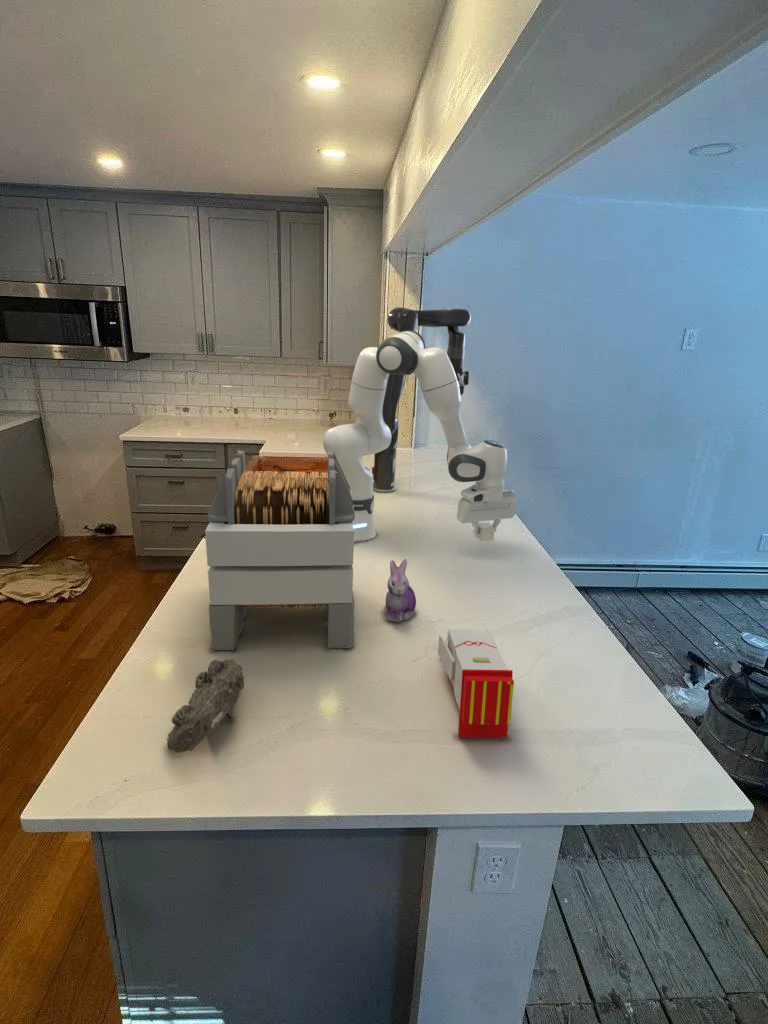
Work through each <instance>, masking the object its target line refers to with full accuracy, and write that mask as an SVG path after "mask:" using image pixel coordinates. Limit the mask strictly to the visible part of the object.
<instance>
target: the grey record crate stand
mask: <svg viewBox="0 0 768 1024" xmlns="http://www.w3.org/2000/svg"><path fill="white" fill-rule="evenodd" d="M246 461H247V459H246V450H240V449H238V450H237V452H236V454H235V456H234V457H233V458H232V461H231V463H230V465H229V467H228V468H227V469H226V472H225V473H224V476H223V478H222V480H221V483H220V486H219V487H218V489H217V491H216V494H215V496H214V498H213V501H212V503H211V504H210V508H209V509H208V512H207V518H208V521H209V523H208V525H207V527H206V529H205V531H204V533H205V549H206V565H207V567H209V569H208V571H207V577H208V592H209V603H208V616H209V617H208V618H209V630H210V636H211V647H210V649H211V651H218V652H219V650H222V651H228V650H229V651H234V649H235V647H236V645H237V642H238V640H239V636H240V634H241V632H242V629H243V619H245V618H246V613H247V609H252V608H253V609H267V608H268V609H273V608H275V609H276V608H278V609H279V608H282V609H283V608H284V609H285V608H290V609H291V608H317V607H318V608H323V607H324V608H326V611H327V613H326V614H327V642H328V643H327V647H328V649H333V648H334V649H335V648H336V649H351V648H352V647H354V636H355V635H354V633H355V628H354V627H355V599H354V598H355V597H354V591H353V589H354V588H353V587H354V586H353V585H354V567H353V566H354V552H355V551H354V549H355V547H354V546H355V542H354V527H353V520H354V519H355V511H354V506H353V500H352V494H351V488H350V486H349V484H348V482H347V480H346V478H345V475H344V473H343V471H342V469H341V467H340V465H339V462H338V460H337V458H336V456H335V454H334V452H331V451H328V454H327V471H321V472H319V471H303V472H288V471H287V472H286V471H284V472H279V471H277V470H276V471H273V470H272V471H271V470H265V471H263V470H256V471H253V470H247V462H246ZM307 472H308V474H307ZM309 472H310V474H309ZM319 473H320V475H319Z"/></svg>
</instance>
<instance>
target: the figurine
mask: <svg viewBox="0 0 768 1024" xmlns="http://www.w3.org/2000/svg"><path fill="white" fill-rule="evenodd" d="M407 567H408V559H406V558H404V559H403V560H402V561H401V563H400V565H399V566H398V565H397V563H396V562H395V561H394V560H393V559H391V560H390V561H389V570H390V576H389V578H388V579H387V589H388V591H387V592H386V594H385V595H386V596H385V607H384V615H385V616H386V620H387V621H391V622H395V623H400V622H402V621H406V620H409V619H410V618H411V617H413V616H414V615H415V610H416V606H417V597H416V593H415V591H414V590H413V587H411V586H410V582H409V579H408V577H407V574H406V571H407Z"/></svg>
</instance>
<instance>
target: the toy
mask: <svg viewBox="0 0 768 1024" xmlns="http://www.w3.org/2000/svg"><path fill="white" fill-rule="evenodd" d="M446 640H447V643H446V641H445V639H444V636H443V635H442V634H439V637H438V646H437V656H438V657H439V659H440V661H441V663H442V666H443V668H444V670H445V672H446V674H447V677H448V679H449V681H450V684H451V687H452V690H453V693H454V697H455V701H456V705H457V708H458V711H459V714H458V715H459V716H458V730H457V731H458V732H457V737H458V738H508V731H509V726H510V725H511V717H512V707H513V697H514V696H513V695H514V684H515V680H514V679H513V673H514V671H513V670H512V669H508V667H507V665H506V662H505V661H504V659H503V658H502V655H501V653H500V651H499V649H498V647H497V643H496V639H495V637H494V635H493V634H491V632H490V631H489V629H467V628H466V629H465V628H463V629H461V628H460V629H459V628H448V630H447V639H446Z"/></svg>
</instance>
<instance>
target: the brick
mask: <svg viewBox="0 0 768 1024" xmlns="http://www.w3.org/2000/svg"><path fill="white" fill-rule="evenodd" d="M477 527H478V528H479V529H480V534H474V533H473V534H474V537H475V538H476V539H477V540H479V541H480V542H485V541H495V540H494V538H495V533H496V532H495V527H494V526H493V525H492V524H491V523H490V522H489V521H484V522H478V525H477Z"/></svg>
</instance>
